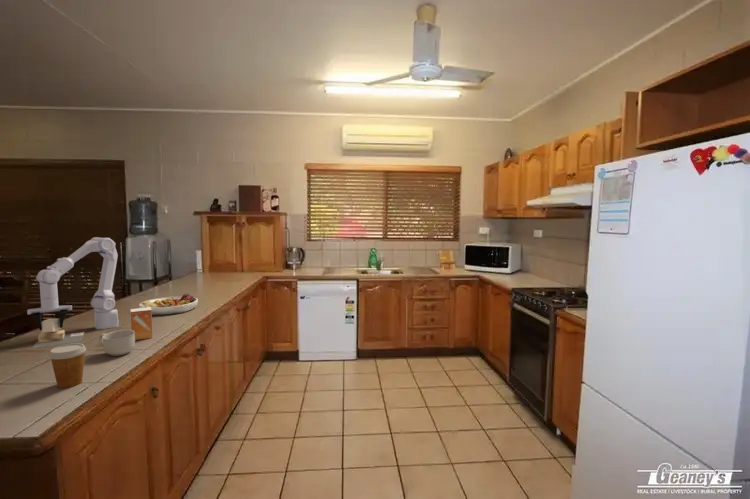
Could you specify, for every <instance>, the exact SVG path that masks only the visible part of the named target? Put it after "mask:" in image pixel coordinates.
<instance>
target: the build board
mask: <svg viewBox="0 0 750 499" xmlns="http://www.w3.org/2000/svg"><path fill="white" fill-rule="evenodd" d="M85 335H86V331H83V332H75V333H74V332H72V333H67V334H66V333H65V337H64V339H63V340H58V341H50V342H43V343H39V340H37V341H36V342H35V343H34V344H33V346H32V349H37V348H38V349H39V348H44V347H45V348H46V347H52V346H62V345H68V344H77V343H81V342H82V341H83V339H84V338H85V337H84V336H85Z"/></svg>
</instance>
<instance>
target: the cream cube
mask: <svg viewBox="0 0 750 499" xmlns="http://www.w3.org/2000/svg"><path fill="white" fill-rule="evenodd" d="M41 325H42V330H41V332H54V331H57V330H62V328H60V318H46V319H45V320H42V321H41Z"/></svg>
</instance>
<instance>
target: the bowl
mask: <svg viewBox="0 0 750 499" xmlns="http://www.w3.org/2000/svg"><path fill="white" fill-rule="evenodd" d="M198 302H199V298H197V297H195V296H193V295H191V294H190V293H189V292H185V293H184V294H182V295H181V296H180V295H179V296H176V295H175V296H166V297H165V296H163V297H158V298H151V299H148V300H144V301H142V302H139V304H138V305H139V308H147V307H151V310H152V316H165V315H175V314H181V313H185V312H189V311H191V310H193V309H195V308H196V307H197V305H198Z"/></svg>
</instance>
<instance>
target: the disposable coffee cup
mask: <svg viewBox="0 0 750 499" xmlns="http://www.w3.org/2000/svg"><path fill="white" fill-rule="evenodd" d="M86 352H87V348H86V346H85V344H83V343H69V344H62V345H58V346H56V347H53V348H52V349H50V351H49V354H48V357H49V358H50V360H51V364H52V369H53V372H54V377H55V380H56V386H57V388H59V389H60V388H61V389H65V388H66V389H67V388H71V387H75V386H77V385H80V384H81V383H83V375H84V374H83V373H84V365H85V357H86V356H85V353H86Z"/></svg>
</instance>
